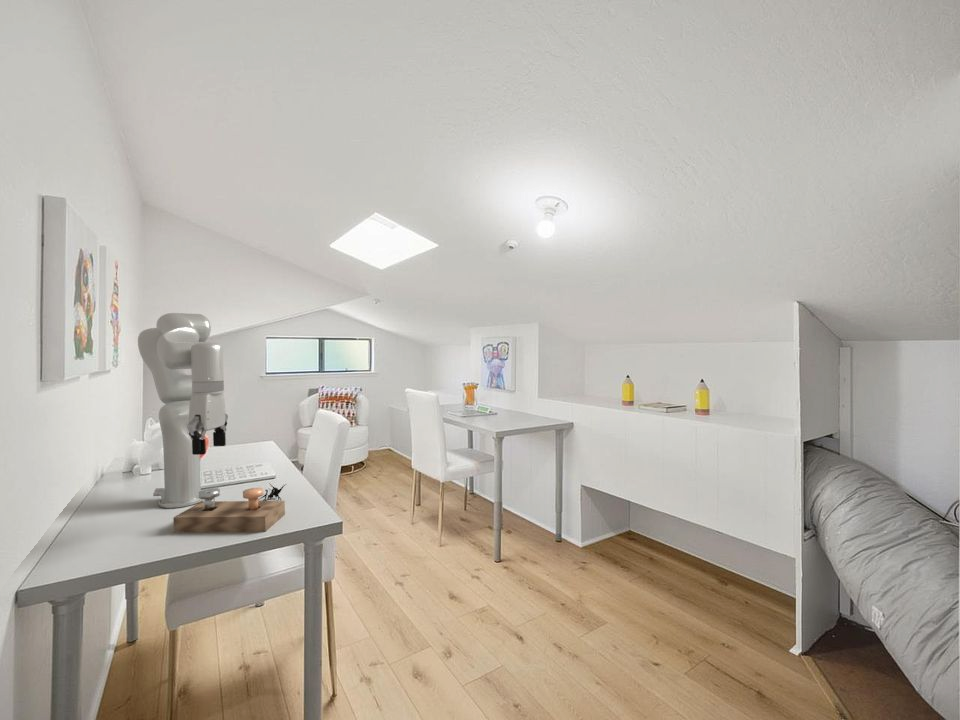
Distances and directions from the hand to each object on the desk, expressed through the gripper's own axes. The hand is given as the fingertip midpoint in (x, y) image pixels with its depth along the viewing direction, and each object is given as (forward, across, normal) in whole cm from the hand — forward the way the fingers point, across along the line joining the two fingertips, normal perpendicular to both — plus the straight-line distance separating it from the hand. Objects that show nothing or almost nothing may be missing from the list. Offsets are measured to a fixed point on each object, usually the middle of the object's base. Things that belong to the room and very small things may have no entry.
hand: (209, 449), depth 125 cm
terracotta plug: (+17, 0, +12) cm, 20 cm away
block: (+20, 0, +6) cm, 21 cm away
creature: (+21, -17, +9) cm, 28 cm away
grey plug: (+17, 0, 0) cm, 17 cm away
